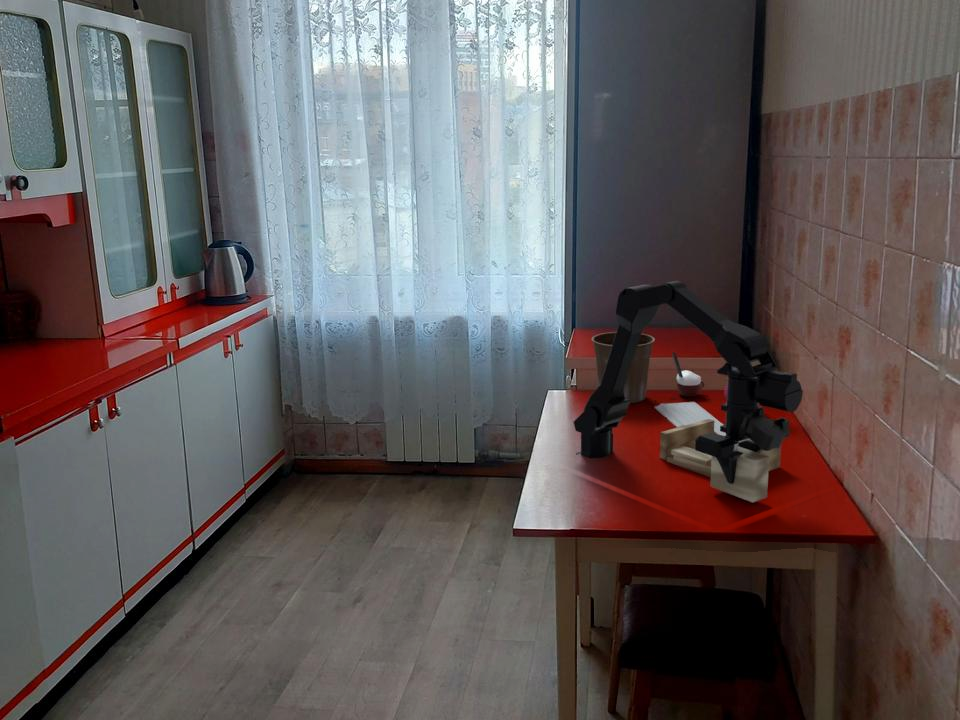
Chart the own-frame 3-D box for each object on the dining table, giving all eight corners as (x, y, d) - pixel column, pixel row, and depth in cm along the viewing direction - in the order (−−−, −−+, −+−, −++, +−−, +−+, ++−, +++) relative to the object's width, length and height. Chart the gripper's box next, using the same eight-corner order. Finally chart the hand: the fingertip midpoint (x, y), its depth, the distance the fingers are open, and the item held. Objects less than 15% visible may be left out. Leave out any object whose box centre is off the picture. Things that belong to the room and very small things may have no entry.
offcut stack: (718, 480, 182) (718, 466, 181) (666, 461, 193) (666, 448, 192) (732, 476, 184) (733, 461, 183) (680, 457, 195) (680, 444, 195)
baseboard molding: (691, 450, 204) (743, 447, 206) (691, 437, 203) (743, 434, 205) (648, 410, 234) (694, 407, 236) (649, 399, 233) (694, 396, 235)
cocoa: (702, 393, 247) (705, 349, 244) (706, 399, 241) (709, 354, 238) (666, 392, 247) (669, 348, 245) (669, 398, 241) (672, 353, 239)
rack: (730, 487, 180) (732, 456, 179) (659, 461, 196) (660, 432, 194) (779, 470, 189) (781, 440, 187) (708, 446, 204) (709, 418, 202)
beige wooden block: (752, 502, 168) (755, 461, 166) (710, 486, 176) (712, 446, 174) (766, 497, 170) (769, 456, 168) (724, 481, 178) (726, 442, 176)
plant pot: (638, 410, 232) (639, 347, 228) (580, 401, 241) (581, 341, 237) (662, 394, 246) (664, 335, 242) (607, 386, 254) (607, 329, 250)
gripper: (744, 420, 157) (739, 506, 161) (811, 401, 168) (806, 482, 171) (694, 405, 166) (691, 487, 170) (761, 388, 176) (757, 465, 180)
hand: (738, 480), depth 173 cm, fingers closed on beige wooden block, 4 cm apart
